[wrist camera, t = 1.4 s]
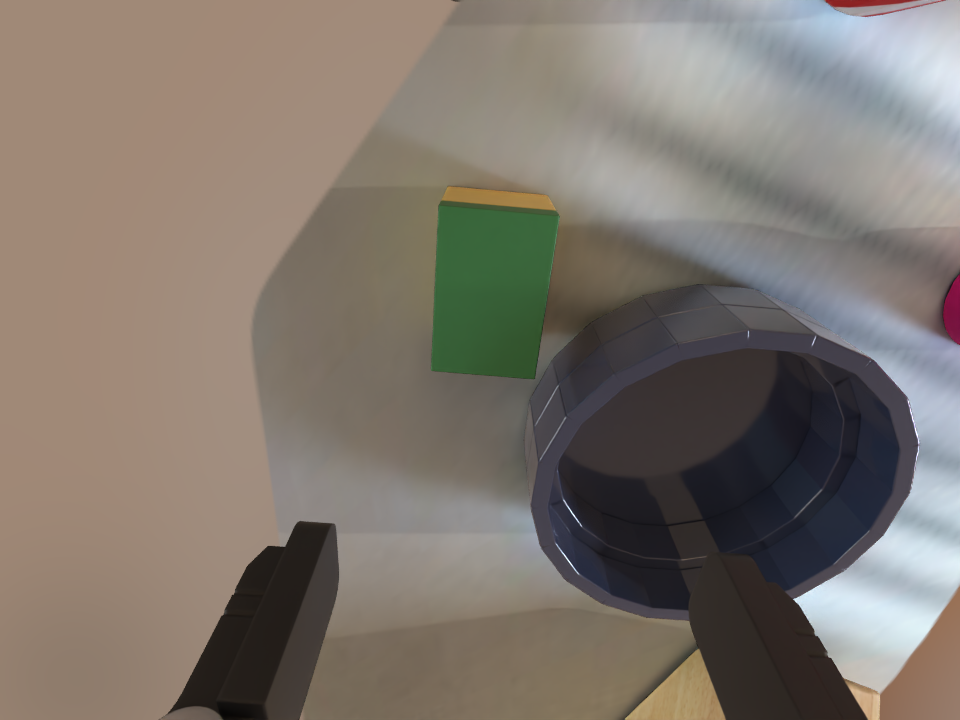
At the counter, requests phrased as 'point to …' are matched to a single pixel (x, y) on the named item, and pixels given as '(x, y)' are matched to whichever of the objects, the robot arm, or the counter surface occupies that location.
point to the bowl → (712, 448)
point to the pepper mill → (953, 311)
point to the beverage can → (875, 6)
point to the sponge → (491, 281)
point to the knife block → (713, 696)
